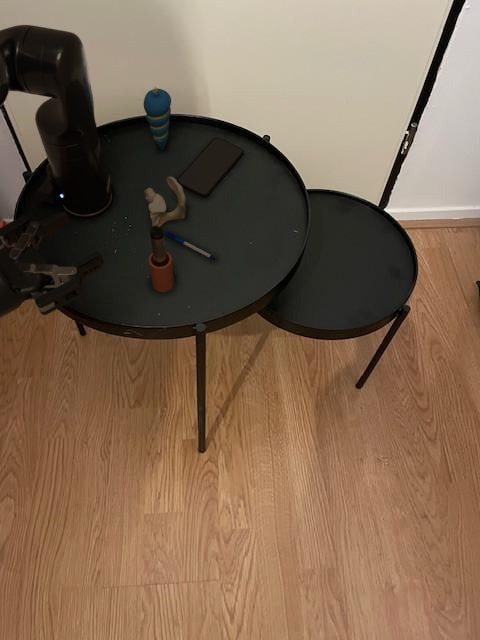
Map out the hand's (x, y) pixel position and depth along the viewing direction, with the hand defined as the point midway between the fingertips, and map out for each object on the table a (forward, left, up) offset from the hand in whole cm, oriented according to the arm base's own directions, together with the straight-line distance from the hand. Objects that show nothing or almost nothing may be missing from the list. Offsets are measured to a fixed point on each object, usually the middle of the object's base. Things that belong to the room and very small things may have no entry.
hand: (84, 236), depth 74 cm
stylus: (+6, +9, -21) cm, 23 cm away
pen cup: (+6, +9, -21) cm, 24 cm away
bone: (+1, +23, -21) cm, 31 cm away
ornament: (-5, +40, -21) cm, 46 cm away
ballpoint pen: (+8, +18, -21) cm, 29 cm away
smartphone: (+6, +38, -21) cm, 44 cm away
